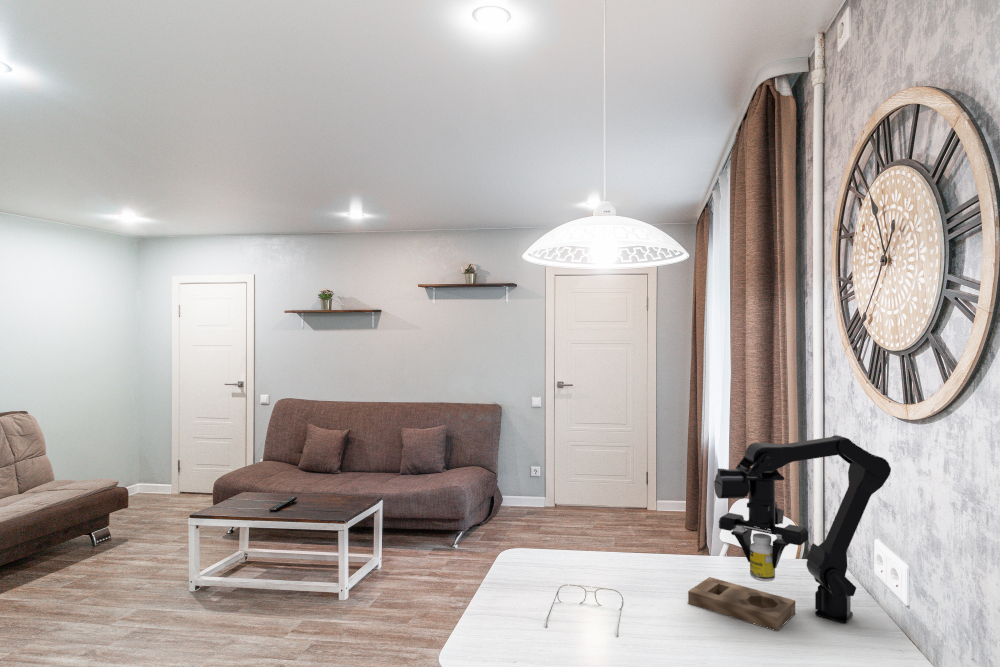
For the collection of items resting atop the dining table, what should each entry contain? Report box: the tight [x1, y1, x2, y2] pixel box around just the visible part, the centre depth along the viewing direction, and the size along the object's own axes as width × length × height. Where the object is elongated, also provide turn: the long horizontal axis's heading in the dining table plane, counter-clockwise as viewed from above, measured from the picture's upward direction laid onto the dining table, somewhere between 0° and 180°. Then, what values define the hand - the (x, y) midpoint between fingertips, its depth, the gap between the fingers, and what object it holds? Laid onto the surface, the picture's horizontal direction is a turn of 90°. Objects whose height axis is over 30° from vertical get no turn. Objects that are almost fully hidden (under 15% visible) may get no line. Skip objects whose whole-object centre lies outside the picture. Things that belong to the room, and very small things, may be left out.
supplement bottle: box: [749, 532, 776, 582], centre depth 145 cm, size 5×5×10 cm
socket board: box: [687, 576, 796, 631], centre depth 149 cm, size 21×12×3 cm, turn 47°
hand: (762, 564), depth 145 cm, fingers closed on supplement bottle, 5 cm apart
